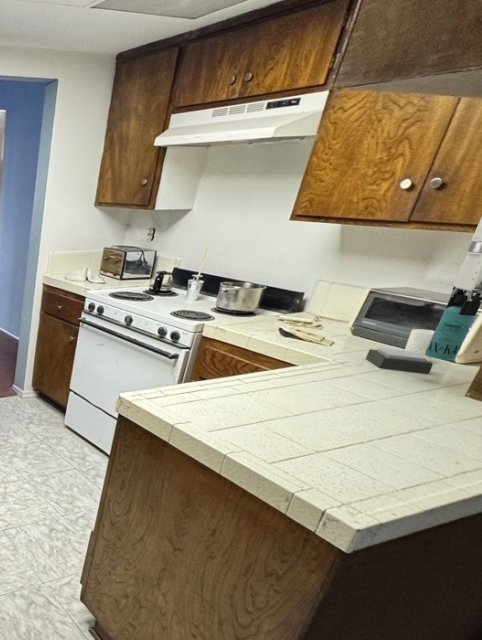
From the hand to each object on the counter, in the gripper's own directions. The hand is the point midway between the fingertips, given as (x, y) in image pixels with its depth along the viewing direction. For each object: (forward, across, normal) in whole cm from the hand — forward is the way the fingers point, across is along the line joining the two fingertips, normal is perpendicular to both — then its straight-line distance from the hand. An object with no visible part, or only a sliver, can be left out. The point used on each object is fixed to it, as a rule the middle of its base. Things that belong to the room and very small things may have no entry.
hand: (459, 312), depth 136 cm
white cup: (+22, +29, -7) cm, 37 cm away
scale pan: (+18, +15, +3) cm, 24 cm away
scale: (+21, +15, +3) cm, 26 cm away
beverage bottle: (+15, 0, 0) cm, 15 cm away
